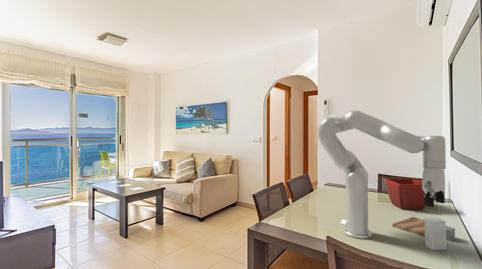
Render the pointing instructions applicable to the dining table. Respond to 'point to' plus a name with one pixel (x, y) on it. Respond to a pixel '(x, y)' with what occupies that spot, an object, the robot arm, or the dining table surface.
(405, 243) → the dining table surface
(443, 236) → the skincare box
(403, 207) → the plant pot
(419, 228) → the walnut board
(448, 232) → the graphite block
